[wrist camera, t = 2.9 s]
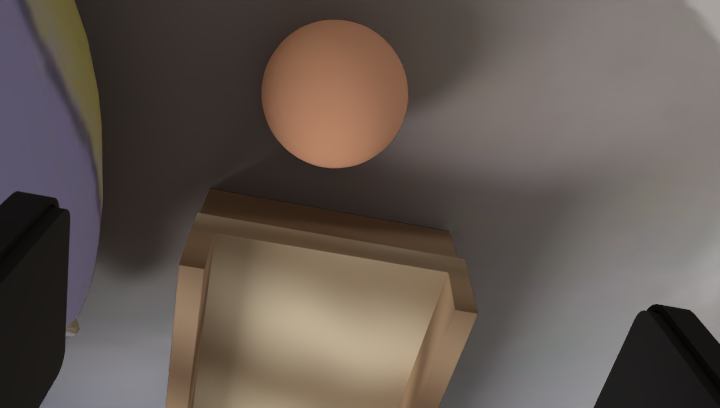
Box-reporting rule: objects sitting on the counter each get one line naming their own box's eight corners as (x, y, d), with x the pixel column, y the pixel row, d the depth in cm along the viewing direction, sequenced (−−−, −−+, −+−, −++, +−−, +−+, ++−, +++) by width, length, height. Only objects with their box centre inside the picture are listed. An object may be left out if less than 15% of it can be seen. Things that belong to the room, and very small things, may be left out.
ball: (279, -6, 24) (267, 19, 19) (415, 24, 24) (434, 54, 20) (258, 126, 26) (243, 176, 21) (384, 149, 26) (395, 204, 22)
